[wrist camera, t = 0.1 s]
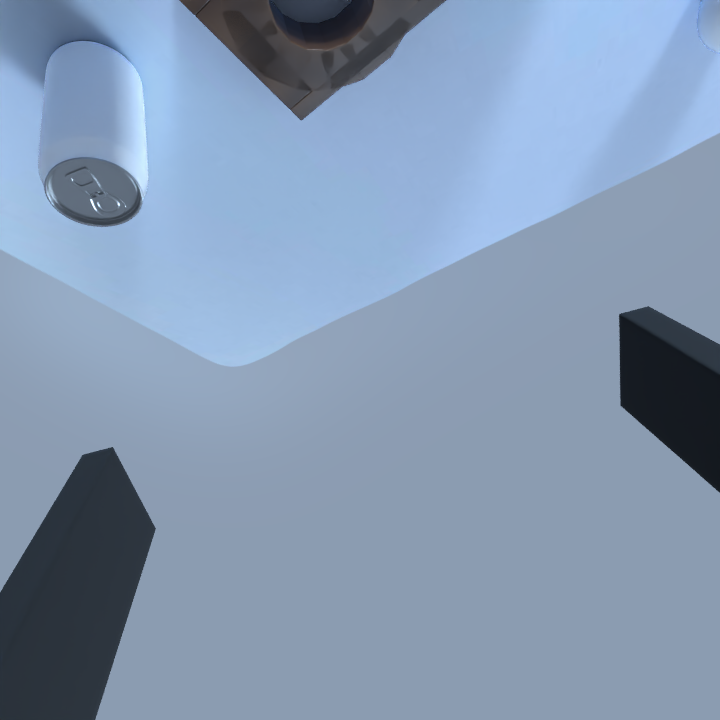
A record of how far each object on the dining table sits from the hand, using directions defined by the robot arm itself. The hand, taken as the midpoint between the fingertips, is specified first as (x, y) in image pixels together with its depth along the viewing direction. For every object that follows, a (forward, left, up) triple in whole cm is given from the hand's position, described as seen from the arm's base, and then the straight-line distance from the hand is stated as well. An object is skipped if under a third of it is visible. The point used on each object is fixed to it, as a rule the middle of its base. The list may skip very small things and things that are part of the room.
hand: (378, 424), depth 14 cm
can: (+3, -17, -36) cm, 40 cm away
